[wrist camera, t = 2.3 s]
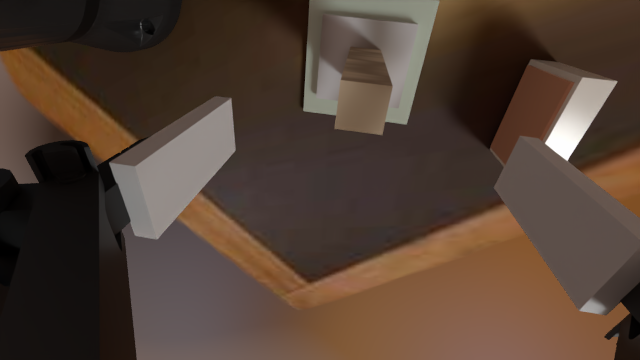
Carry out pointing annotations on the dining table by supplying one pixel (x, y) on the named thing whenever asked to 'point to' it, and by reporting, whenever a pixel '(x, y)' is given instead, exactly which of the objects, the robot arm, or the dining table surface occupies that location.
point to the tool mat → (373, 3)
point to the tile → (551, 108)
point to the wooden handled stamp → (363, 68)
